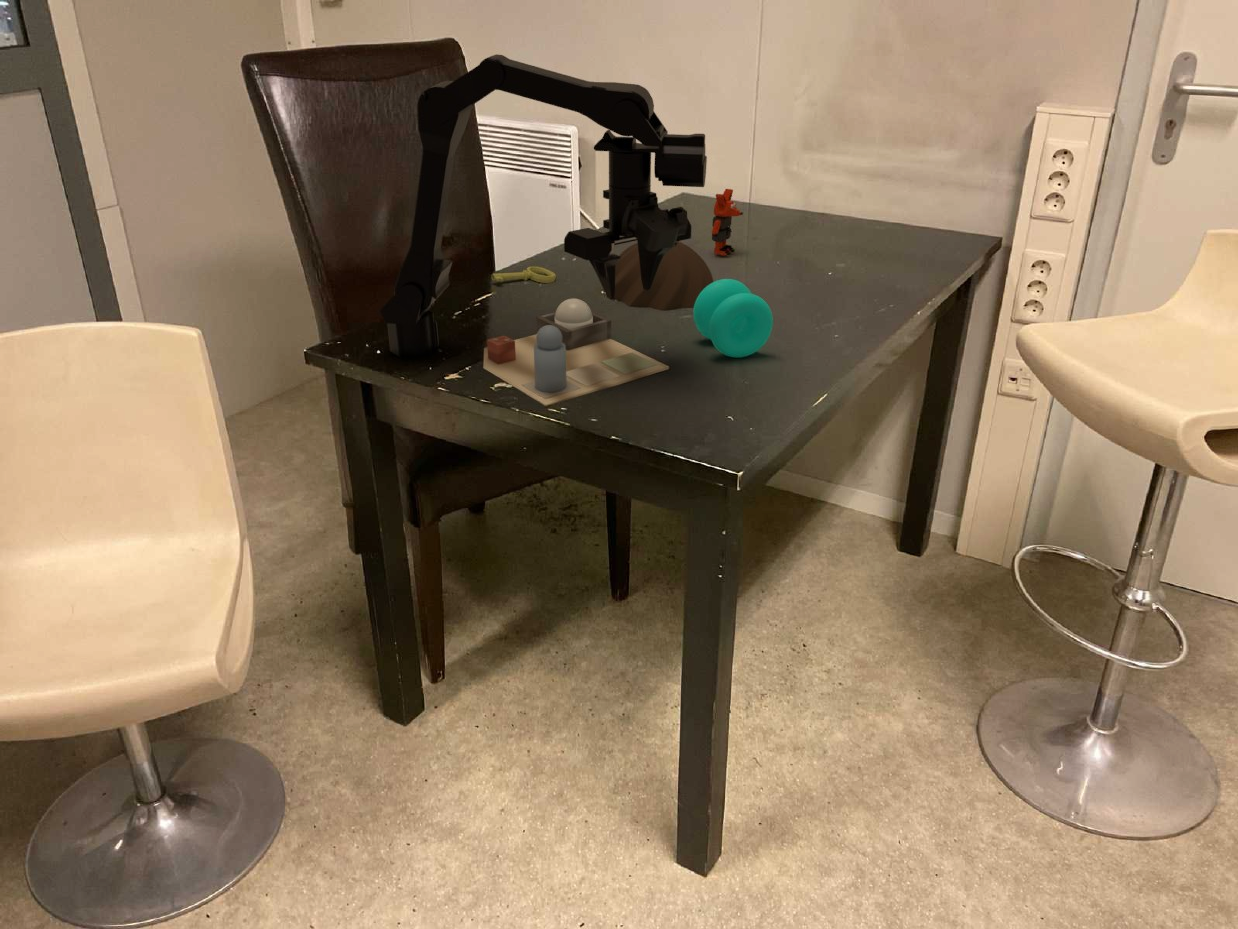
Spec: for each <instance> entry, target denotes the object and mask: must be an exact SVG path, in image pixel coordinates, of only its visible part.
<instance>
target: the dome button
mask: <svg viewBox="0 0 1238 929" xmlns="http://www.w3.org/2000/svg"><path fill="white" fill-rule="evenodd" d="M591 311H592V310H591V308H590V306H589V305H588V304H587V303H586V302H585V301H583V300H581V299H579V298H568V299H565V300H563V301H562V302H561V303H559V305H558V306H557V308H556V309H555V312H556V314H555V323H556V324H558V325H560V326H562V327H564V328H567V329H572V328H576V327H580V326H583V325H587V324H591V323H593V316H592V312H593V311H592V312H591Z"/></svg>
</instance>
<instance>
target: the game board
mask: <svg viewBox="0 0 1238 929" xmlns="http://www.w3.org/2000/svg"><path fill="white" fill-rule="evenodd" d="M591 312H592V316H593V323H591V324H587V325H583V326H580V327H576V328H572V329H567V328H564V327H562V326H560V325H558V324H556V323H555V314H556V311H555V312H551V313H547V314H543V315H539V316H536V334H533V335H529V336H525V337H522V338H518V339H517V338H516V339H512V338H510V337H508V336H506V335H500V336H496V337H492V338H489V339H486V345H487V346H486V347H484V348H483V369H484V370H486V371H487V372H490V373H491V374H493V375H494V376H496V377H498V378H499V379H501V380H502V381H504V382H505V383H506V384H509V385H510V386H512V387H514V388H515V389H517V390H519V391H520V392H522V393H523V394H525V395H527V396H528V397H530V398H531V399H533V400H535V401H536V402H538V403H540V404H542V405H543V406H545V407H546V406H550V405H551V406H552V405H555V404H557V403H560V402H564V401H567V400H571V399H574V398H577V397H581V396H584V395H588V394H591V393H594V392H599V391H602V390H605V389H609V388H612V387H615V386H619V385H622V384H624V383H629V382H633V381H635V380H638V379H642V378H644V377H648V376H651V375H655V374H656V373H661V372H664V371H667V370H669V369H670V366H669V365H667V364H664V363H663V362H660V361H658V360H657V359H654V358H652V357H649V356H648V355H645V354H644V353H641V352H639V351H637V350H635V349H634V348H631V347H628V346H627V345H624V344H623V343H620V342H618V341H616V340H614V339H612V319H609V318H607V317H605V316H602V315H600V314H598V313H596V312H594V311H592V310H591ZM546 325H552V326H555V327H557V328H558V329H559V330H560V331H561V334H562V343H564V344H565V346H566V383H567V387H566V388H565V389H564V390H562V391H559V392H553V393H547V392H541V391H539V390H537V389H536V387H535V366H534V345H535V344H536V343H537V341H536V336H537V333H538V331H539V330H540V328H542V327H543V326H546Z"/></svg>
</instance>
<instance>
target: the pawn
mask: <svg viewBox="0 0 1238 929" xmlns="http://www.w3.org/2000/svg"><path fill="white" fill-rule="evenodd" d="M536 334H537V336H536V341H537V343H536V344H535V345H534V366H535V387H536V389H537V390H539V391H541V392H547V393H553V392H559V391H562V390H564V389H565V388H566V387H567V383H566V346H565V344H564V343H562V334H561V331H560V330H559V329H558V328H557V327H555V326H552V325H546V326H543V327H542V328H540V330H539V331H538V333H537V332H536Z"/></svg>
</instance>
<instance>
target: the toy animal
mask: <svg viewBox="0 0 1238 929" xmlns="http://www.w3.org/2000/svg"><path fill="white" fill-rule="evenodd" d="M733 192H734V190H733V188H731V189H730V188H725V189H724V191H723V193H722V194H721V193H716V194H715V200H716V201H715V204H714V206H713V207H714V208H713V215H714V217H713V218H712V230H711V240H712V241H713V242H715V244H714V246H715V247H714V248H713V254H716V255H719V256H730V255H731V253H735V249H734V247H732V245H731V244H730V245H729V244H727V240H729V239H730V238H731V236H732V228H731V225H732V218H733V217H739V216H742V215H743V214H744V212H742V211H740V210H739V209H738V208H737V207H736V206H737V204H736V203H735V202H734V201H733V200H731V199H732V197H733Z"/></svg>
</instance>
